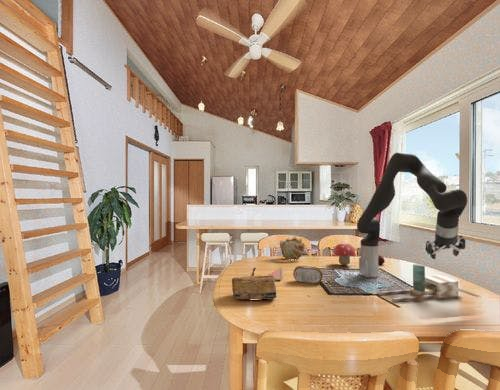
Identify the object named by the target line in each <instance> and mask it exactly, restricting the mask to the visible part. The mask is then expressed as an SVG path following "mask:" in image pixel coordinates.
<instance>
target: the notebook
mask: <svg viewBox="0 0 500 390" xmlns="http://www.w3.org/2000/svg"><path fill="white" fill-rule="evenodd" d="M281 267H282V266H280V269H279V270H276V271H274V272H272V273H271V274H270V273H269V274H268V275H270V276H273V277H274V278H275V280H281V281H282V279H283V276H282V274H283V267H282V268H281ZM283 280H284V279H283Z"/></svg>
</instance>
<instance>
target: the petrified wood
mask: <svg viewBox="0 0 500 390" xmlns="http://www.w3.org/2000/svg"><path fill="white" fill-rule="evenodd" d="M231 287H232V296H233V298H235V299H236V300H249V299H259V301H263V300H262V299H268V300H274V299H276V298H277V288H276V281H275V278H274V277H273V276H270V275H268V276H251V275H250V276H248V275H247V276H240V277H239V276H238V277H232V279H231Z"/></svg>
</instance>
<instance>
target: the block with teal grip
mask: <svg viewBox="0 0 500 390" xmlns="http://www.w3.org/2000/svg"><path fill="white" fill-rule="evenodd" d="M425 267H426V266H425V265H424V264H416V263H415V264H412V287H410V288H409V289H410V294H412V295H414V296H422V295H434V294H437V286H430V287H425V276H426V269H425Z"/></svg>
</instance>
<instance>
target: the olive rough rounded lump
mask: <svg viewBox="0 0 500 390" xmlns="http://www.w3.org/2000/svg"><path fill="white" fill-rule="evenodd" d="M305 247H307V246H306V245H305V243H303V241H302V238H300V239H298V238H297V236H296V235H295V236H293V237H292V238H290V237H288V238H286V239H285V240H280V241H279V248H280V252H281V255H282V256H283V257H285V258H286V259H287V260H288V259H290V260H289V261H291V259H294V260H293V261H297V260H298V259H299V260H300V258H301V257H302V256H303V255H304V250H305ZM283 257H282V258H283ZM295 259H296V260H295Z"/></svg>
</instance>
